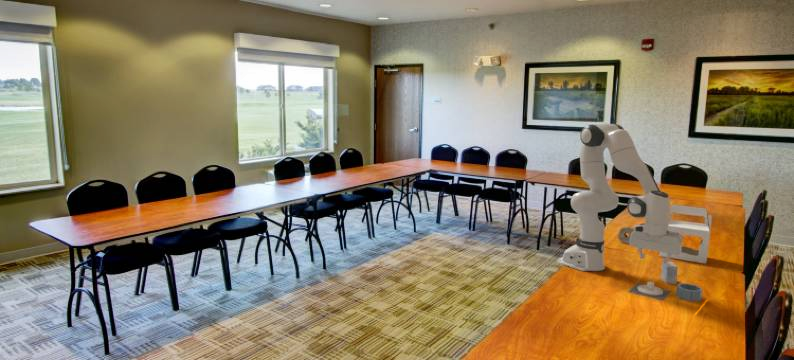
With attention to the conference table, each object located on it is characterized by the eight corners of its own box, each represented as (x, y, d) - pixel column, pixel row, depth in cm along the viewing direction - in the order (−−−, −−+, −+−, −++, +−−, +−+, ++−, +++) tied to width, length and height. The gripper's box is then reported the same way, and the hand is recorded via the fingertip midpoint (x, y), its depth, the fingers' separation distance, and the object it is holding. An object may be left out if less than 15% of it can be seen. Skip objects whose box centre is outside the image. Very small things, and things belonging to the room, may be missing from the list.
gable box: (707, 257, 274) (713, 206, 270) (706, 264, 263) (712, 211, 259) (661, 250, 286) (666, 201, 282) (658, 256, 275) (664, 205, 271)
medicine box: (676, 285, 232) (678, 267, 231) (665, 284, 233) (667, 266, 231) (670, 279, 240) (672, 261, 238) (660, 278, 240) (662, 260, 239)
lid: (634, 291, 222) (635, 282, 221) (641, 285, 229) (642, 277, 228) (658, 297, 215) (659, 288, 214) (665, 291, 222) (666, 282, 222)
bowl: (674, 298, 216) (675, 287, 215) (679, 292, 223) (680, 281, 222) (697, 304, 210) (699, 292, 210) (702, 298, 217) (704, 287, 216)
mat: (627, 292, 222) (627, 291, 222) (638, 284, 232) (638, 283, 232) (662, 301, 212) (662, 300, 212) (671, 292, 223) (671, 291, 223)
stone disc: (637, 244, 296) (638, 228, 295) (634, 245, 294) (635, 229, 292) (619, 240, 304) (621, 224, 302) (616, 241, 301) (618, 225, 300)
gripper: (685, 231, 213) (682, 263, 215) (634, 223, 226) (631, 254, 228) (681, 234, 208) (678, 267, 210) (629, 226, 222) (626, 256, 224)
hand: (653, 260), depth 219 cm, fingers open, 8 cm apart
